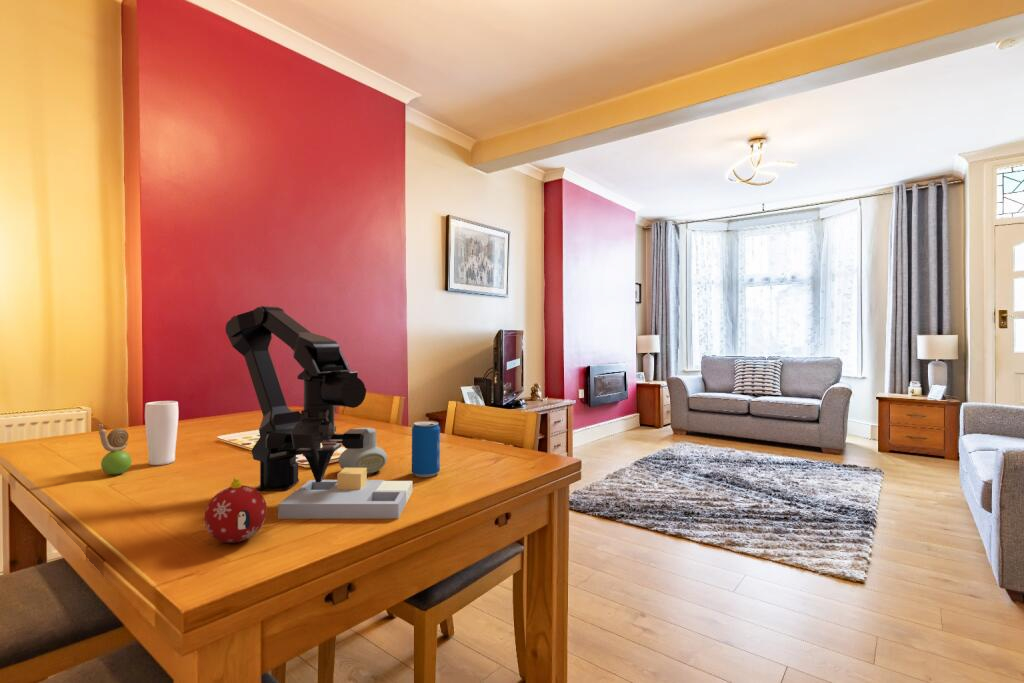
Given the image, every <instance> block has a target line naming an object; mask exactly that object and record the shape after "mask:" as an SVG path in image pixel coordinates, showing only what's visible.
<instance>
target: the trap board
mask: <svg viewBox="0 0 1024 683" xmlns="http://www.w3.org/2000/svg"><path fill="white" fill-rule="evenodd" d="M413 486H414V485H413V480H384V479H367V483H366V484H365V485H364V486H363V487H362V488H361V489H337V479H322V481H321V482H316V481H315V479H309V480H308V481H307V482H306V483H304V484H303V485H302V486H300V487H299V488H298V489H297V490H294V491H293V492H292V493H290V494H289V495H288V496H287V497H285V498H284V499H282V500H281V501H280V502H279V503H278V519H279V520H280V519H281V520H282V519H283V520H284V519H285V520H286V519H293V520H294V519H302V520H303V519H306V520H307V519H308V520H309V519H322V520H323V519H327V520H329V519H331V520H332V519H349V520H350V519H360V520H361V519H365V520H366V519H375V520H376V519H388V520H389V519H400V517H401V514H402V512H403V510H405V506H406V505H407V503H408V501H409V499H410V497H411V495H412V493H413Z"/></svg>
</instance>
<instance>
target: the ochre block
mask: <svg viewBox="0 0 1024 683" xmlns="http://www.w3.org/2000/svg"><path fill="white" fill-rule="evenodd" d="M367 477H368V475H367V468H344V469H342V468H341V470H340V471H339V472H338V473H337V477H336V478H337V479H336V480H337V489H361V488H362V487H363V486H364V485H365V484H366V483H367V480H368V478H367Z"/></svg>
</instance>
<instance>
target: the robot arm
mask: <svg viewBox="0 0 1024 683" xmlns="http://www.w3.org/2000/svg"><path fill="white" fill-rule="evenodd" d="M224 328H225V333H226V336H227V337H228V339H229V342H230V344H231V346H232V348H233V349H235V350H236V351H237V352H238V353H239V354H241V355H242V356H243V358H244V361H245V363H246V368H247V369H248V372H249V376H250V379H251V382H252V386H253V388H254V391H255V395H256V397H257V401H258V404H259V407H260V410H261V413H262V419H261V422H260V426H259V429H258V432H259V438H258V439H257V441H256V443H254V445H253V447H252V448H251V453H252V455H251V456H252V458H253V460H254V461H258V462H259V464H260V465H259V485H258V486H257V487H256V488H255V489H256V490H257V491H287V490H290V489H291V488H292V487H293V486H295V485H296V484H297V483H298V482H299V481H300V479H299V462H298V461H297V456H300V455H302V456H304V457H305V459H306V462H308V466H309V467H310V470H311V473H312V476H313V478H314V480H315V481H316V482H321V481H322V480H324V476H325V473H326V471H327V469H328V466H329V463H330V461H331V459H332V457H333V455H334V453H335V452H336V451H338V449H340V448H341V447H344V449H345V450H346V449H360V448H364V447H365V446H366V445H367V444H368V443H370V433H369V431H368V430H367V429H356V428H351V429H350V428H349V429H348V430H346V431H345V432H343V433H336V432H337V426H335V422H336V421H335V417H336V416H335V413H336V412H337V407H345V408H351V409H354V408H357V407H360V406H361V405H362V404H363V402H364V400H366V399H365V398H366V396H367V388H366V385H365V383H364V381H363V380H362V379H361V378H360V377H358V374H359V373H358V371H357V370H356V371H355V370H351V369H350V367H349V366H350V365H349V363H348V362H347V360H346V359H345V356H344V354H343V352H342V350H341V348H340V347H341V346H340V345H339V343H338V342H337V341H336V340H334V339H331V338H330V337H327V336H323V335H320V334H316V333H313V332H311V331H310V330H308V329H307V328H305V326H303V325H302V324H300V323H299V322H298V321H296V320H295V319H294V318H293V317H291V316H289V315H288V314H287V313H286V312H285V311H284V309H283V308H281V307H278V306H268V305H266V306H265V305H261V306H257V307H256V308H254V309H253V310H249V311H246V312H243V313H241V314H240V313H239V314H237V315H233V316H232V317H231V318H230V319H229V320H228V321H227V322H226V324H225V327H224ZM272 335H274V336H275V337H277V338H278V339H279V340H280V341H281V342H283V343H284V344H286V345H287V346H288V347H289V348H290V349H291V350H292V352H293V354H292V356H293V359H294V360H295V361H296V362H297V364H299V366H300V367H301V368H302V369H303V371H302V372H301V373H299V374H298V375H297V379H298V380H301V381H303V409H302V410H296V411H295V410H291V409H290V408H289V407H288V405H287V401H286V399H285V396H284V392H283V389H282V387H281V384H280V380H279V378H278V374H277V372H276V369H275V365H274V363H273V360H272V357H271V354H270V350H269V347H270V344H271V341H272V339H273V336H272ZM300 411H301V412H300ZM321 445H322V446H321Z"/></svg>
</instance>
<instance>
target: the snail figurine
mask: <svg viewBox="0 0 1024 683" xmlns="http://www.w3.org/2000/svg"><path fill="white" fill-rule="evenodd" d="M97 427H98V430H99V431H98V435H99V437H100V438H99V439H100V442H101V445H102V447H103V449H104V450H105V451H108V453H106V454H105V455H104V456H103V458H102V459H101V463H100V466H101V469H102V470H103V472H104V473H106V474H108V475H111V476H112V475H113V476H114V475H120V474H123V473H125V472H127V470H129V469H130V467H131V465H132V460H133V459H132V457H131V455H130V453H128V452H127V451H125V450H124V449H126V447H127V446H128V445H129V444H128V443H127V442H128V440H129V433H128V431H127V430H126V429H124V428H122V427H121V428H120V427H119V428H114V429H113V430H111V431H110V432H109V433H108V434H107V430H106V429H104V428H103V427H104V424H100V423H99V424H98V425H97Z"/></svg>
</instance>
